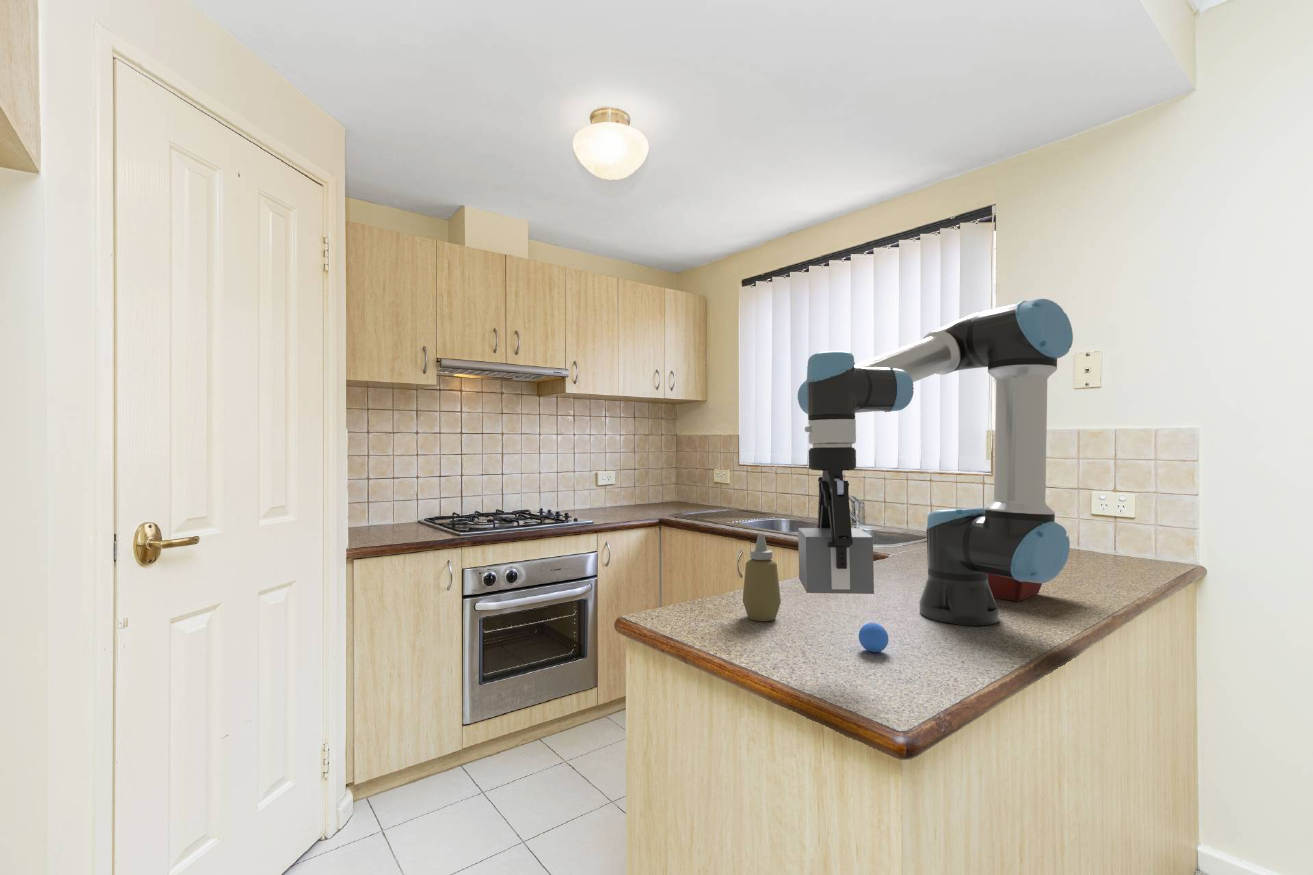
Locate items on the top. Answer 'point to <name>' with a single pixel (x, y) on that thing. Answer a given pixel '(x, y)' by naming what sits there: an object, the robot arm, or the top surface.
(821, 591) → the grey cubic block
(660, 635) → the top surface
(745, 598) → the squeeze bottle
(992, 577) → the plant pot
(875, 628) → the ball
